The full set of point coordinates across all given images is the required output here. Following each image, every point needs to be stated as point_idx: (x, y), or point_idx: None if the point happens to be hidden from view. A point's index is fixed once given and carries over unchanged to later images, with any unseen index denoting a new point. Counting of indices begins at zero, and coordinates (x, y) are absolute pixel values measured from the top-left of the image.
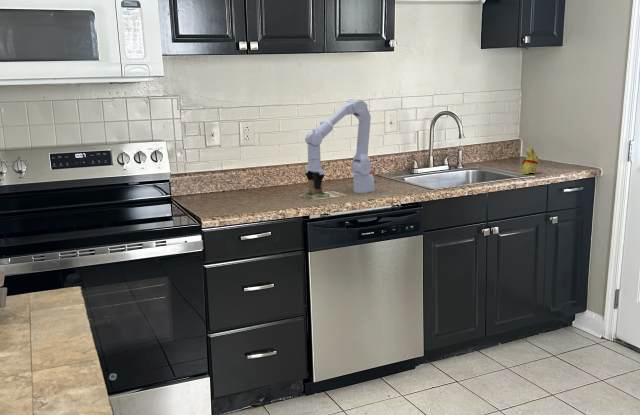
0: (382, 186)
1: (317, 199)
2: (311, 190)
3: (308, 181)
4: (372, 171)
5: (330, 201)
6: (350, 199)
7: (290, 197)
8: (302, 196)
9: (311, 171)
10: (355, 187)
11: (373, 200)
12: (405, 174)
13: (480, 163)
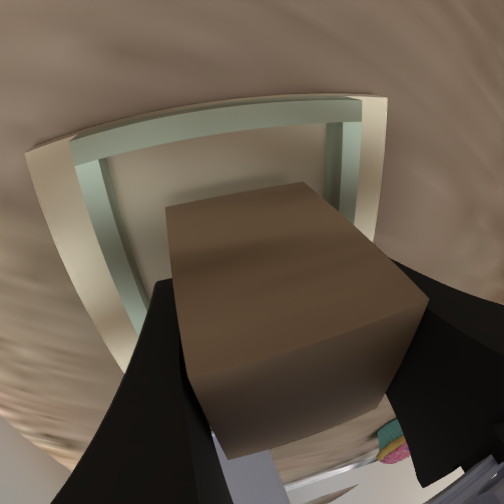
0: (306, 460)
1: (39, 202)
2: (236, 214)
3: (404, 274)
4: (386, 463)
5: (31, 299)
6: (84, 402)
7: (414, 38)
8: (317, 96)
9: (488, 471)
10: (225, 463)
11: (46, 442)
12: None
13: (350, 488)
